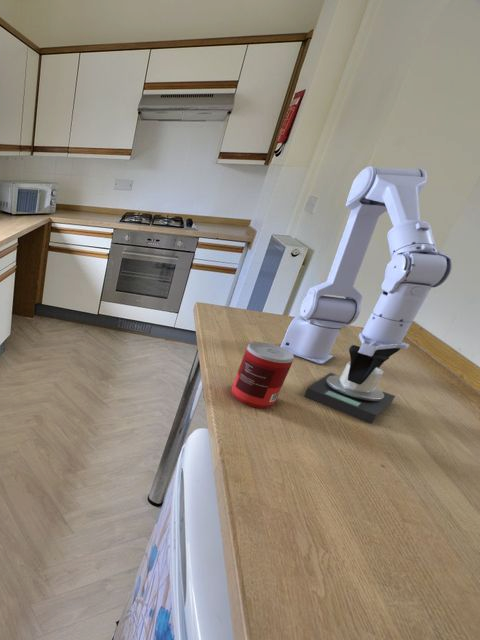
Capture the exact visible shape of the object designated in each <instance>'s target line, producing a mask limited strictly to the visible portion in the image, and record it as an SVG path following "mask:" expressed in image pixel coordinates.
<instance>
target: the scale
mask: <svg viewBox="0 0 480 640" xmlns="http://www.w3.org/2000/svg"><path fill="white" fill-rule="evenodd" d="M335 375H337V374H336V373H333V372H329V373H328V374H326V375H325V376H323V377H322V378H319V379H318V380H317V381H315V382H314V383H313V384H311V385H310V386H309V387H307V389H306V390H305V392H304V395H303V397H305V398H308V399H309V400H312V401H314V402H317V403H320V404H322V405H324V406H327V407H328V408H332V409H334V410H337V411H339V412H341V413H344V414H347V415H349V416H351V417H354V418H356V419H359V420H360V421H364V422H366V423H368V424H372V423H374V422H375V420H377V419H378V417H380V416H381V415H382V414H383V412H384V411H386V410H387V409H388V407H390V406H391V405H392V403H393V401H394V400H395V398H396V395H394V394H391V393H388V392H385V391H382V390H381V391H382V392H383V394H384V397H383V399H382V400H379V401H368V400H362V399H358V398H354V397H351V396H348V395H346V394H343V393H341V392H339V391H337V390H335V389H333V388H332V387H330V386H329V385H328V384H327V382H326V380H327V378H328V377H329V376H335ZM337 376H339V375H337Z"/></svg>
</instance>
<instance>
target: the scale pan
mask: <svg viewBox="0 0 480 640" xmlns="http://www.w3.org/2000/svg"><path fill="white" fill-rule="evenodd" d="M340 377H341V375H338V376H337V374H335V376H329V377H328V378H327V380H326V382H327V384H328V385H329V386H330V387H332V388H333V389H335V390H337V391H339V392H341V393H343V394H346V395H348V396H351V397H354V398H358V399H362V400H368V401H379V400H382V399H383V397H384V394H383V392H384V391H383V392H382V390H381V389H380V388H378V387H377V386H376V387H375V389H374V390H373V391H370V392H367V393H365V392H358V391H355V390H352V389H349V388H347V387H345V386H343V385H342V384H341V381H340Z"/></svg>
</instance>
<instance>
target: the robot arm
mask: <svg viewBox="0 0 480 640" xmlns="http://www.w3.org/2000/svg"><path fill="white" fill-rule="evenodd" d="M427 182H428V174H427V172H426V170H425V169H423V168H416V169H415V168H398V167H397V168H396V167H395V168H394V167H379V166H378V167H377V166H376V167H375V166H371V165H369V166H366V167H365V168H364V169H362V170H361V171H360V172H359V173H358V174H357V175H356V177H355V178H354V180H353V181H352V183H351V187H350V190H349V192H348V195H347V199H346V203H345V207H347V208H348V209H350V213H349V215H348V219H347V222H346V224H345V228H344V230H343V233H342V237H341V239H340V242H339V245H338V247H337V251H336V253H335V256H334V259H333V262H332V265H331V268H330V270H329V273H328V276H327V278H326V281H324V282H322V283H319V284H317V285H314V286H311V287H310V288H309V289H308V291H307V293H306V295H305V297H304V298H303V300H302V302H301V304H300V307H299V314H300V315H296V316H294V318H293V319H292V320H291V322H290V324H289V325H288V327H287V329H286V331H285V335H284V337H283V339H282V342H281V344H280V345H279V347H282V348H284V349H286V350H288V351H290V352H291V353H292V354H293V355H294V356H296V357H299V358H301V359H305V360H308V361H310V362H313V363H316V364H318V365H324V364H325V363H326V362H328V361H330V360H331V359H332V358H333V357H334V355H332V354H330V352H332V349H333V346H334V344H335V342H336V340H337V338H338V336H339V334H340V332H341V330H342V329H346V328H347V326H349V325H352V324H353V323H354V322H356V321H357V320H358V318H359V317H360V314H361V309H362V307H361V305H362V301H363V295H362V293H361V292H360V291H359V290H357V288H356V287H355V286H354V285H355V283H356V281H357V277H358V275H359V272H360V270H361V268H362V267H361V266H362V264H363V261H364V259H365V256H366V253H367V250H368V248H369V245H370V242H371V239H372V238H373V237H372V236H373V234H374V231H375V228H376V226H377V223H378V220H379V218H380V216H382V215H383V214H384V213H388V216H389V220H390V221H391V224H392V227H391V228H390V229H389V230H388V232H387V233H386V237H387V244H388V248H389V254H390V259H391V260H390V261H389V262H388V263H387V265H386V268H385V270H384V278H383V281H382V283H381V288H380V289H381V290H382V292H381V293H380V295H379V298H378V300H377V302H376V304H375V305H374V308H373V309H372V312H371V313H370V316H369V318H368V320H367V322H366V323H365V325H364V327H363V329H362V331H360V332H359V335H358V339H359V340H360V343H361V346H359V345H355V344H352V345H351V346H350V347H349V349H348V352H349V357H350V361H351V363H350V369H349V374H348V381H351V382H354V383H356V384H359V385H361V384H362V383H363V382H364V381H365V380H366V379H367V378H368V377H369V375H370V374H371V373H372V372H373V370H374V369H375V368H376V367H378V368H379V369H380V367H381V366H382V365H383V364H384V363H385V362H386V361H388V360H389V359H390V357H392V356H393V355H394V354H396V353H398V352H400V350H408V348H409V347H410V343H406V342H403V340H404V338H405V336H406V335H407V333H408V331H409V329H410V327H411V326H412V323H413V322H414V320H415V319H416V317H417V315H418V313H419V311H420V309H421V307H422V306H423V304H424V302H425V300H426V299H427V297H428V295H429V293H430V292H431V290H432V288H437V287H439V286H441V285H442V284H444V283H445V282H446V280H448V279H449V277H450V274H451V272H452V268H453V262H452V257H451V256H450V255H448V254H444V252H443V251H442V250H438V248H437V245H436V240H435V237H434V233H433V229H432V225H431V224H430V222H427V221H425V220H421V212H420V211H421V210H420V209H421V208H420V199H419V198H420V197H419V196H420V195H421V193H422V192H423V190H424V188H425V187H426V184H427Z"/></svg>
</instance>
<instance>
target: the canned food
mask: <svg viewBox="0 0 480 640" xmlns="http://www.w3.org/2000/svg"><path fill="white" fill-rule="evenodd" d="M294 358H295V355H293V354H292V353H291V352H290V351H288V350H286V349H284V348H282V347H280V345H276V344H273V343H268V342H262V341H253V342H250V343H248V345H247V346H246V350H245V352H244V354H243V357H242V360H241V362H240V365H239V368H238V370H237V373H236V376H235V378H234V381H233V383H232V386H231V395H232V396H233V397H234V399H236V400H237V401H238V402H240V403H241V404H244V405H246V406H250V407H253V408H256V409H257V408H258V409H267V408H270V407H272V406H273V405H274V404H275V403H276V401H277V398H278V396H279V394H280V392H281V390H282V388H283V385H284V382H285V381H286V378H287V376H288V374H289V371H290V369H291V367H292V365H293V362H294Z"/></svg>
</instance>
